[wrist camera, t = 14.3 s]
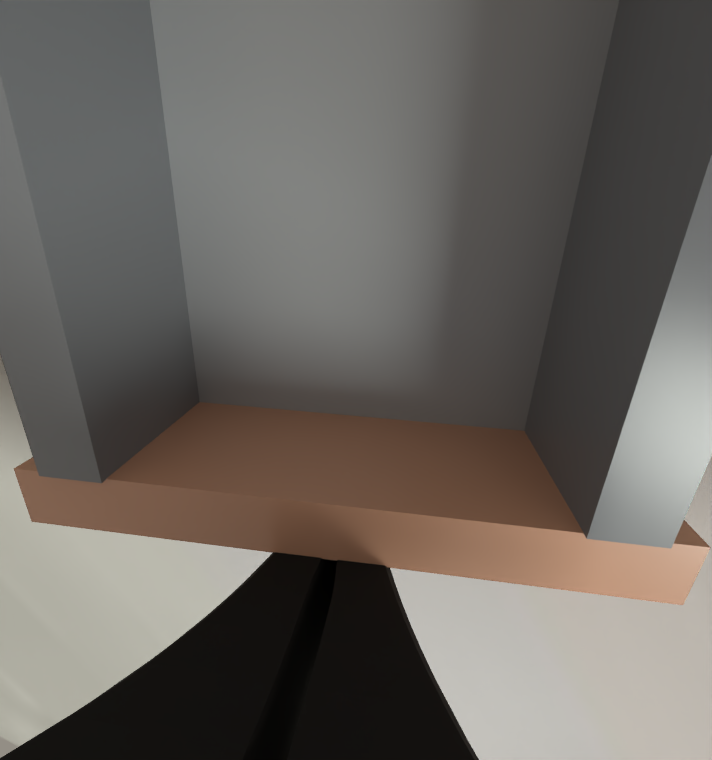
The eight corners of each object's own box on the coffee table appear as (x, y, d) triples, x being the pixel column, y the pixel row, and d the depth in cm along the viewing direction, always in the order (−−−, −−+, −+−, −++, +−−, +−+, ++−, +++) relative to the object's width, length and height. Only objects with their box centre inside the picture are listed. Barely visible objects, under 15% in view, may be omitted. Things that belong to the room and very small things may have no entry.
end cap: (599, 431, 9) (710, 547, 6) (587, 474, 10) (682, 605, 6) (141, 391, 10) (14, 468, 7) (148, 431, 11) (31, 521, 7)
